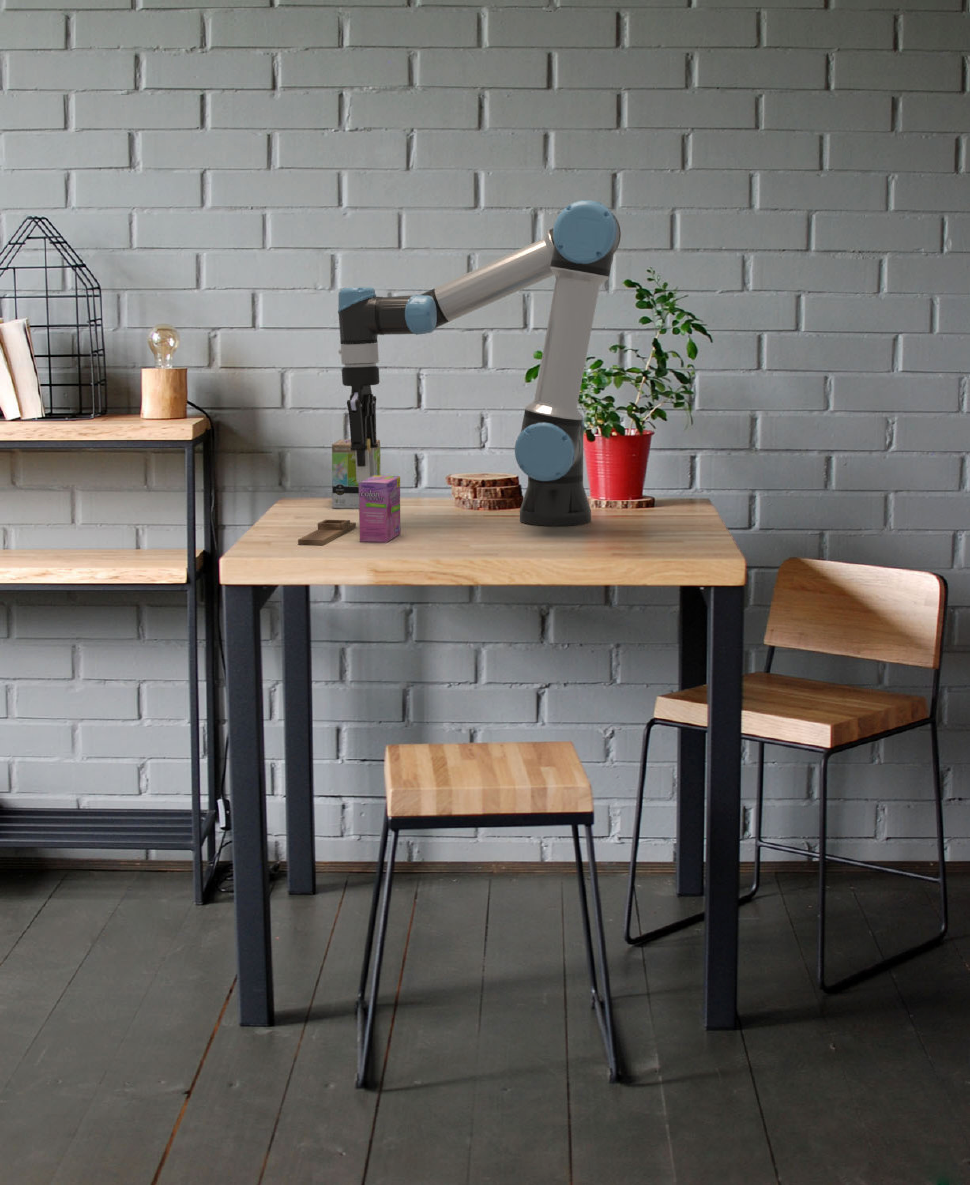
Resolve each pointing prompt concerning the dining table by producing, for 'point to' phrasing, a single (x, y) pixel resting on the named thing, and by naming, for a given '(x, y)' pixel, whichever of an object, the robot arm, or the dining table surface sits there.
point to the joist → (327, 532)
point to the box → (379, 508)
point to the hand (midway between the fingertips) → (366, 480)
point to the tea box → (347, 474)
